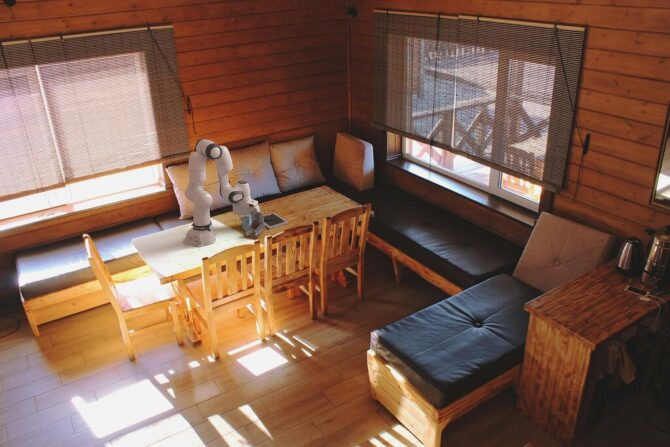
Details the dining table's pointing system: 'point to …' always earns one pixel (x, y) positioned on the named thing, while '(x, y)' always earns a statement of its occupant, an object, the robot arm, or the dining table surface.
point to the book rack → (255, 226)
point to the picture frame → (274, 221)
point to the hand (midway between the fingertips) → (247, 219)
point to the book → (246, 221)
